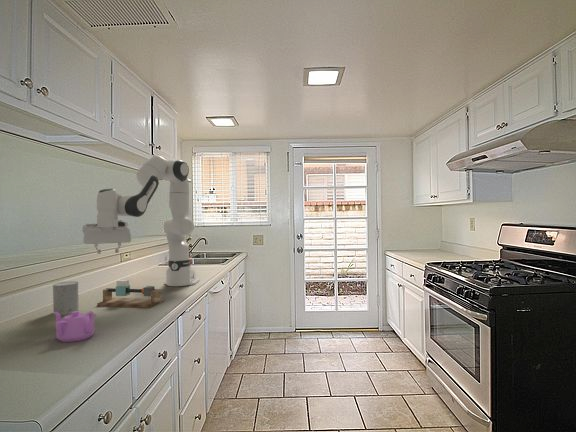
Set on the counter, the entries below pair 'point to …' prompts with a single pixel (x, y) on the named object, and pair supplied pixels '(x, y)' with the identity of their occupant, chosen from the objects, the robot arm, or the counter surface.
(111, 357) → the counter surface
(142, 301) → the rod slider board
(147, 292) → the rail
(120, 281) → the sleeve
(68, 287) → the grey upright cylinder
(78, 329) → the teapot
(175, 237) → the robot arm
